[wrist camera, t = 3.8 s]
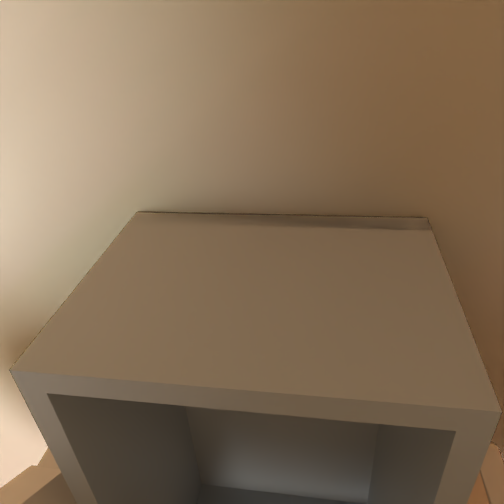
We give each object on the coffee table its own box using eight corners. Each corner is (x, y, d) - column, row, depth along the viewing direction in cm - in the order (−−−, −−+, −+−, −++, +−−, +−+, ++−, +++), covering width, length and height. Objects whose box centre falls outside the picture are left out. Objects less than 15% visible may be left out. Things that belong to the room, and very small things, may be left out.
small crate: (136, 212, 9) (8, 370, 6) (427, 218, 8) (502, 412, 5) (195, 474, 15) (149, 645, 11) (377, 496, 14) (394, 690, 10)
